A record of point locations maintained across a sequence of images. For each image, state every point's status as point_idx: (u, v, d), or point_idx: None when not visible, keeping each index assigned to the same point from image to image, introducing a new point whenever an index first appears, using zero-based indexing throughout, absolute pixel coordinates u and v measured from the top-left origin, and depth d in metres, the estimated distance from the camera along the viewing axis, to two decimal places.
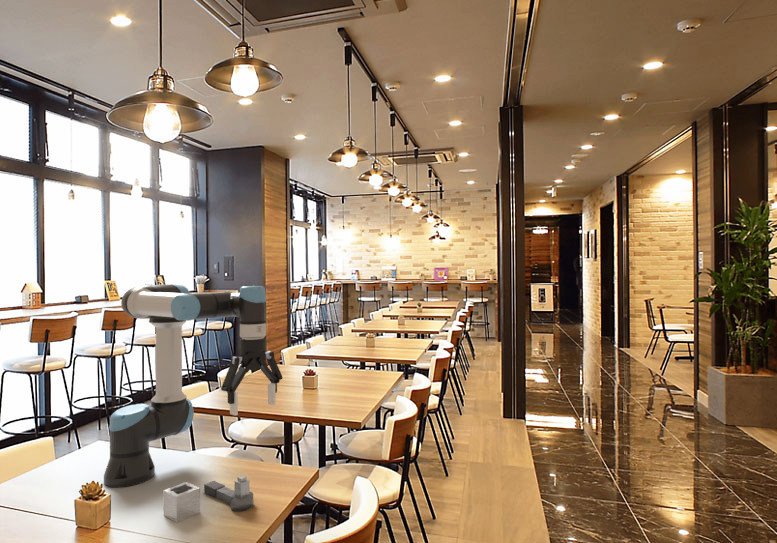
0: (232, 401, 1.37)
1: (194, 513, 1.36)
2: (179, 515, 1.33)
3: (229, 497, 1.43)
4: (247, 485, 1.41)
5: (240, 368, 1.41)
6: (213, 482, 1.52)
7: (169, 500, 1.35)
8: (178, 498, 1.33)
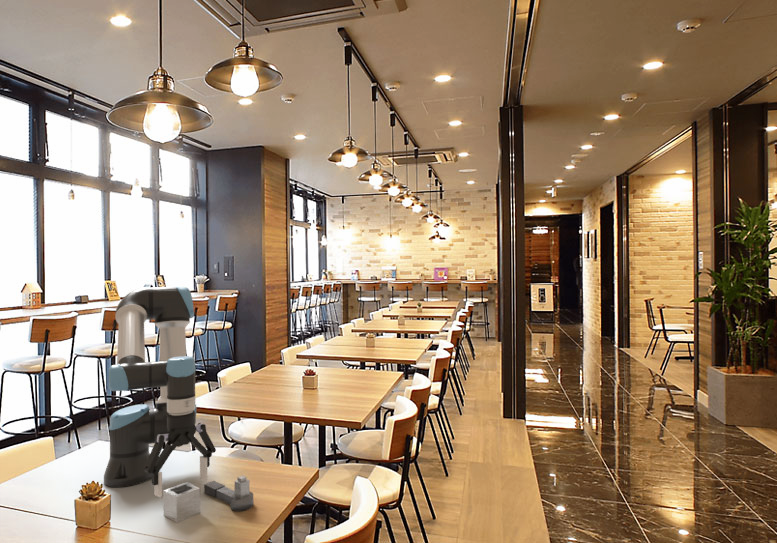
0: (156, 482, 1.30)
1: (194, 513, 1.36)
2: (179, 515, 1.33)
3: (229, 497, 1.43)
4: (247, 485, 1.41)
5: (166, 445, 1.34)
6: (213, 482, 1.52)
7: (169, 500, 1.35)
8: (178, 498, 1.33)
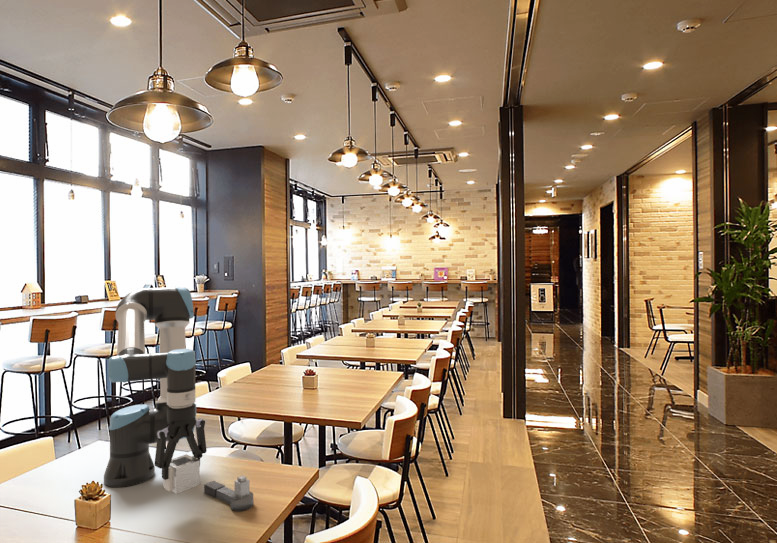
0: (166, 477, 1.33)
1: (193, 485, 1.37)
2: (178, 486, 1.33)
3: (229, 497, 1.43)
4: (247, 485, 1.41)
5: (169, 439, 1.36)
6: (213, 482, 1.52)
7: None
8: (178, 470, 1.33)
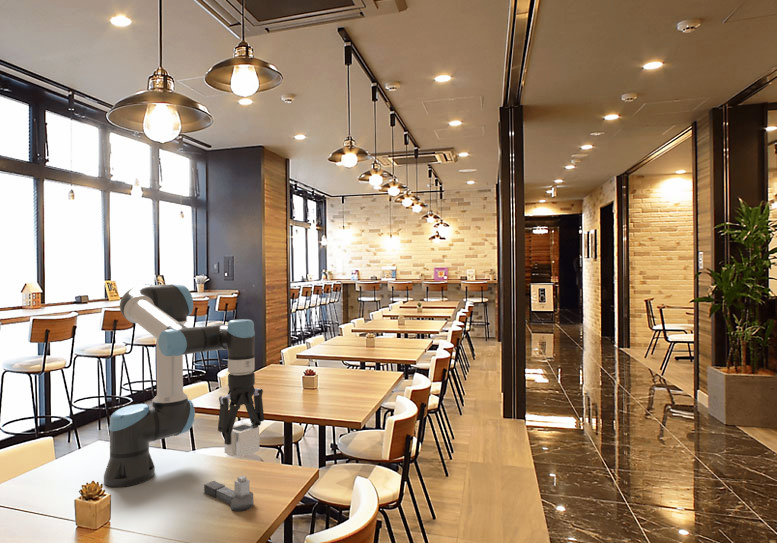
0: (229, 442, 1.37)
1: (254, 451, 1.41)
2: (241, 451, 1.37)
3: (229, 497, 1.43)
4: (247, 485, 1.41)
5: (231, 406, 1.40)
6: (213, 482, 1.52)
7: None
8: (240, 434, 1.37)
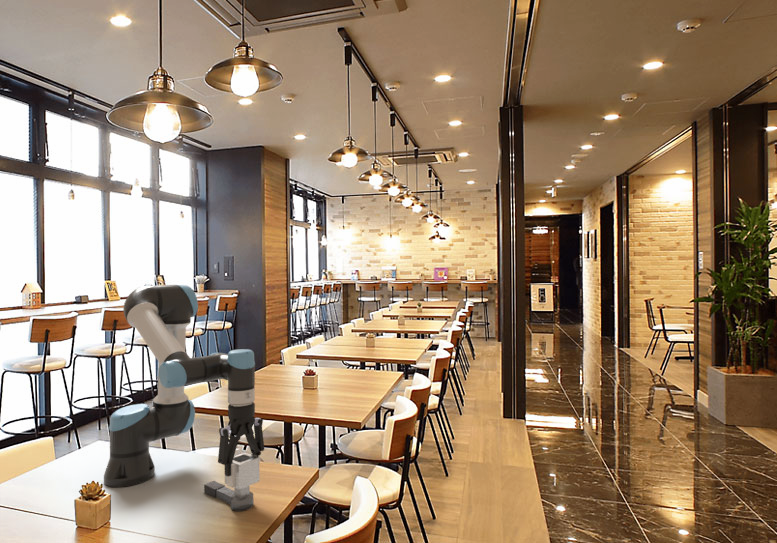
0: (229, 473, 1.37)
1: (254, 482, 1.41)
2: (241, 482, 1.37)
3: (229, 497, 1.43)
4: None
5: (231, 437, 1.40)
6: (213, 482, 1.52)
7: None
8: (240, 466, 1.37)
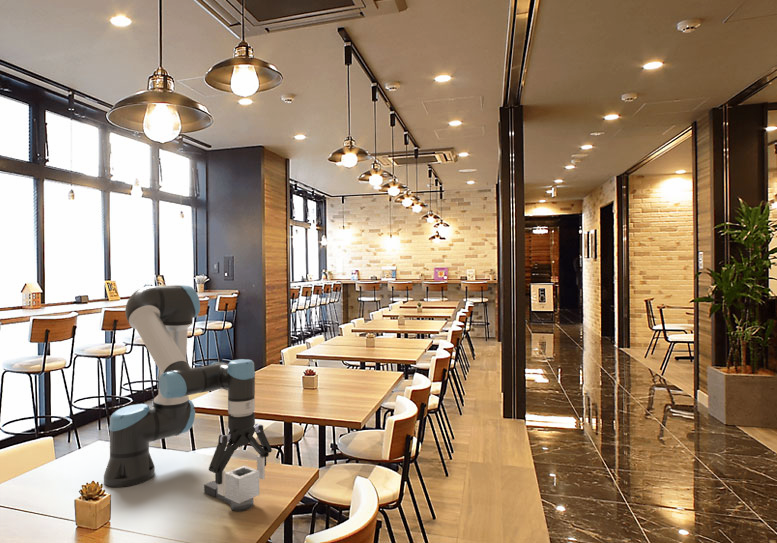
0: (220, 481, 1.35)
1: (254, 495, 1.41)
2: (241, 496, 1.37)
3: None
4: None
5: (228, 445, 1.39)
6: (213, 482, 1.52)
7: (231, 482, 1.39)
8: (240, 480, 1.37)
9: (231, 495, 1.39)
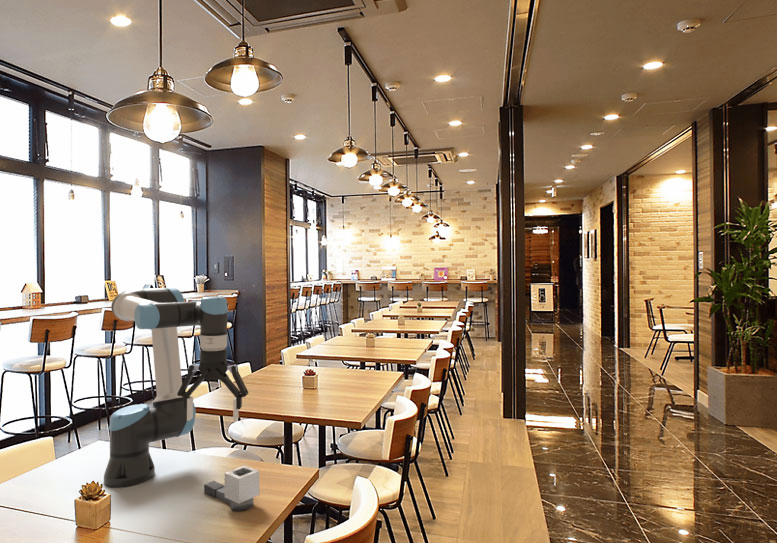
0: (186, 406, 1.43)
1: (254, 495, 1.41)
2: (241, 496, 1.37)
3: None
4: None
5: None
6: (213, 482, 1.52)
7: (231, 482, 1.39)
8: (240, 480, 1.37)
9: (231, 495, 1.39)
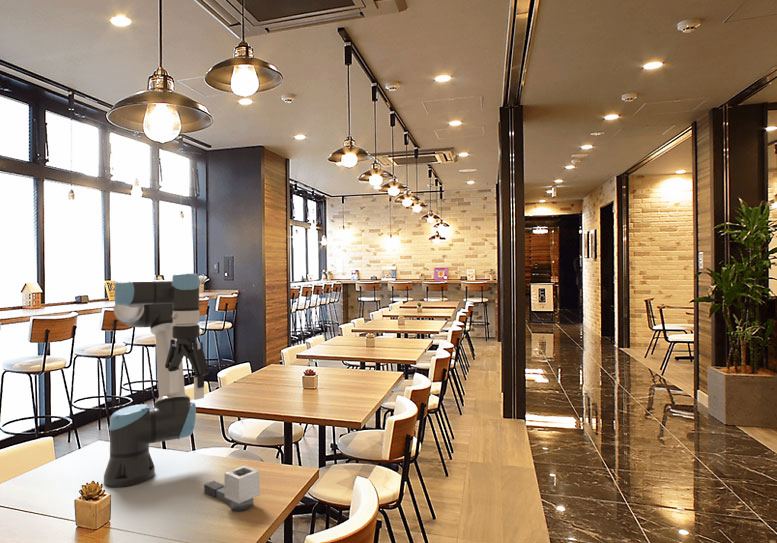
0: None
1: (254, 495, 1.41)
2: (241, 496, 1.37)
3: None
4: None
5: None
6: (213, 482, 1.52)
7: (231, 482, 1.39)
8: (240, 480, 1.37)
9: (231, 495, 1.39)
